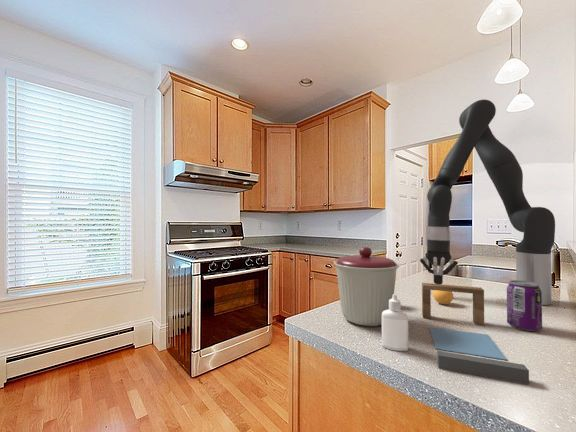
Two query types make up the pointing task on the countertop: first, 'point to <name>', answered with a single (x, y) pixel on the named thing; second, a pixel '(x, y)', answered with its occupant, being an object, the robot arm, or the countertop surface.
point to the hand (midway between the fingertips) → (437, 284)
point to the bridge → (477, 291)
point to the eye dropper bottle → (394, 327)
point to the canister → (365, 286)
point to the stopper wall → (483, 367)
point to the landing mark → (465, 343)
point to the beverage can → (524, 305)
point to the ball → (443, 296)
